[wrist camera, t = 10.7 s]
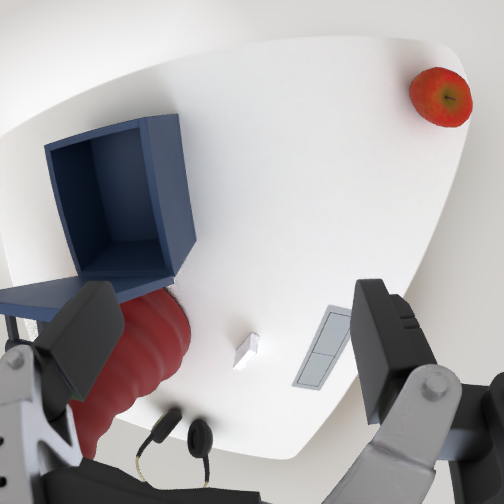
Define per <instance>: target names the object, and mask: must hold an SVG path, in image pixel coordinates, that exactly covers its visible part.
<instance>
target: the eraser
mask: <svg viewBox="0 0 504 504" xmlns="http://www.w3.org/2000/svg"><path fill="white" fill-rule="evenodd" d="M258 339H259V336H258V335H256V334H254V333H251V334H250V335H249V336H248V338H247V339H246V340H245V341H244V342H243V344H242V345H241V346H240V347H239V348H238V350H237V351H236V355H235V360H234V366H233V368H234V369H236V370H238V371H241V370H242V369H243V368H244V367H245V366H246V365H247V363H248V362H249V361H250V360H251V359H252V358H253V357H254V356H255V355H256V354H257V348H258Z"/></svg>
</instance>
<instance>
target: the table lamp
mask: <svg viewBox="0 0 504 504" xmlns="http://www.w3.org/2000/svg"><path fill="white" fill-rule="evenodd" d="M119 305H120V308H121V311H122V314H123V316H124V323H125V325H124V331H123V334H122V335H121V337H120V339H119V341H118V342H117V344H116V346H115V347H114V349H113V351H112V353H111V354H110V356H109V358H108V359H107V361H106V363H105V365H104V367H103V368H102V370H101V372H100V374H99V375H98V377H97V379H96V381H95V383H94V385H93V386H92V388H91V390H90V392H89V394H88V396H87V397H86V399H85V401H84V402H82V401H78V400H75V399H71V398H70V400H69V402H68V404H69V405H70V407H71V409H72V413H73V419H74V424H75V429H76V433H77V438H78V442H79V446H80V450H81V453H82V455H83V457H85V458H88V459H91V460H93V459H94V457H95V454H96V447H97V441H98V439H99V438H100V437H101V436H102V435H103V434H104V433H105V432H107V430H108V429H109V428H110V426H111V423H112V420H113V418H114V417H115V416H116V415H117V414H120V413H122V412H125V411H126V410H128V409H129V408H130V407H132V405H133V404H134V402H135V400H136V398H138V397H143V396H145V395H148V394H150V393H152V392H153V391H154V390H156V388H157V387H158V385H159V384H160V382H161V381H164V380H166V379H168V378H170V377H171V376H172V375H174V374H175V373H176V372H177V370H178V369H179V368H180V366H181V362H182V359H183V356H184V355H185V353H186V352H187V350H188V348H189V344H190V334H191V332H190V327H189V323H188V320H187V318H186V316H185V314H184V312H183V311H182V309H181V308H180V306H179V305H178V304H177V302H176V301H175V300H174V299H173V298H172V297H171V296H170V295H169V294H168V292H167V291H165V290H164V289H163V288H160V289H158V290H155V291H152V292H150V293H147V294H144V295H142V296H139V297H136V298H134V299H131V300H128V301H126V302H123V303H120V304H119Z"/></svg>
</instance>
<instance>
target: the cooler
mask: <svg viewBox="0 0 504 504" xmlns="http://www.w3.org/2000/svg"><path fill="white" fill-rule="evenodd" d="M44 148H45V154H46V159H47V164H48V170H49V174H50V179H51V184H52V188H53V192H54V197H55V201H56V205H57V209H58V212H59V216H60V220H61V223H62V227H63V230H64V234H65V237H66V240H67V243H68V247H69V250H70V253H71V256H72V259H73V262H74V265H75V268H76V271H77V273H78V276H173V277H175V276H176V274H177V273H178V271H179V269H180V267H181V266H182V264H183V262H184V261H185V259H186V257H187V256H188V254H189V252H190V250H191V249H192V247H193V245H194V244H195V242H196V235H195V229H194V223H193V217H192V211H191V204H190V198H189V191H188V185H187V178H186V171H185V164H184V157H183V149H182V141H181V134H180V126H179V117H178V114H169V115H160V116H151V117H144V118H139V119H135V120H131V121H126V122H122V123H118V124H114V125H110V126H106V127H102V128H99V129H95V130H91V131H88V132H84V133H81V134H78V135H74V136H71V137H68V138H65V139H62V140H59V141H56V142H53V143H50V144H47V145H45V146H44Z"/></svg>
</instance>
